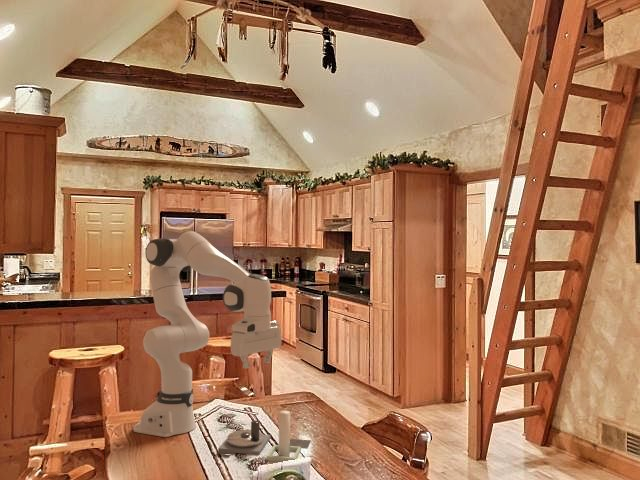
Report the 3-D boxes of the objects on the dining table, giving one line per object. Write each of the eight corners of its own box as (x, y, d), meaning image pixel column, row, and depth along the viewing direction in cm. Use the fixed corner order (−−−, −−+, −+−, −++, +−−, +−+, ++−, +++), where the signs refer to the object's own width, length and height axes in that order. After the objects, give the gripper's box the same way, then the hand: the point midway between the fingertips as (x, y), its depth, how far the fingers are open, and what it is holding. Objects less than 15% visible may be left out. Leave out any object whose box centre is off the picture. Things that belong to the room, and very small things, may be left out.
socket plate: (287, 449, 167) (287, 446, 167) (291, 441, 174) (291, 438, 174) (307, 451, 166) (307, 448, 166) (311, 443, 172) (311, 440, 172)
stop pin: (277, 457, 159) (277, 413, 159) (280, 453, 162) (280, 410, 162) (288, 458, 158) (288, 414, 158) (290, 453, 162) (291, 410, 162)
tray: (266, 463, 156) (266, 456, 156) (273, 451, 165) (274, 444, 165) (295, 465, 155) (295, 458, 155) (300, 453, 164) (300, 446, 164)
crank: (244, 451, 160) (244, 428, 160) (220, 441, 168) (220, 418, 168) (271, 440, 169) (271, 418, 169) (247, 431, 177) (247, 410, 177)
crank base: (218, 454, 163) (218, 447, 163) (232, 438, 176) (232, 431, 176) (259, 457, 160) (259, 451, 160) (270, 440, 174) (270, 434, 174)
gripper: (272, 319, 174) (272, 358, 174) (227, 326, 158) (227, 369, 158) (285, 320, 170) (285, 361, 170) (241, 328, 154) (240, 372, 154)
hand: (257, 365), depth 164 cm, fingers open, 8 cm apart
